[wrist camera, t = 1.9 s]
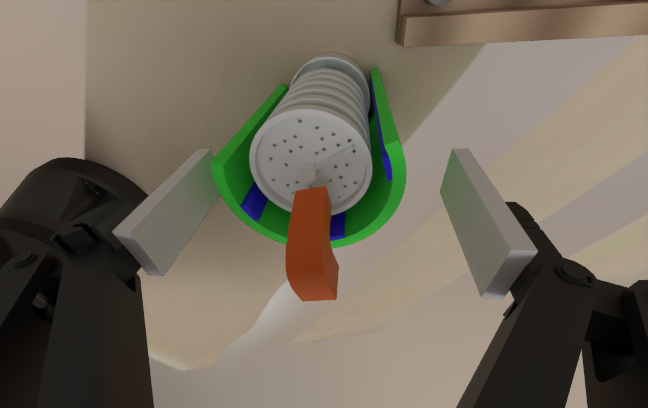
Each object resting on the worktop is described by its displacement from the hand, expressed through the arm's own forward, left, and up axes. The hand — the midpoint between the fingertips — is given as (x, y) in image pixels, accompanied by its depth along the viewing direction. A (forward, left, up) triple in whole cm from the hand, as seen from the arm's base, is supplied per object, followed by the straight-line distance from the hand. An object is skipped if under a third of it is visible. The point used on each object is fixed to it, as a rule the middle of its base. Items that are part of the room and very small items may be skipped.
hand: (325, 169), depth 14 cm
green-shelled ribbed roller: (0, 0, -12) cm, 12 cm away
